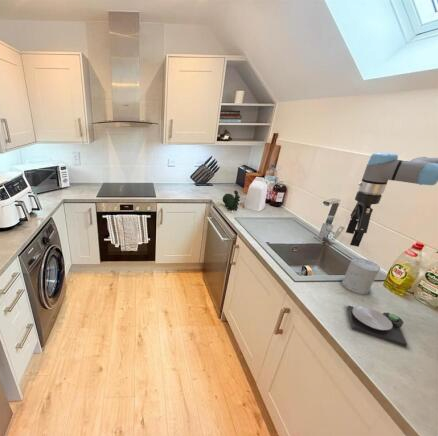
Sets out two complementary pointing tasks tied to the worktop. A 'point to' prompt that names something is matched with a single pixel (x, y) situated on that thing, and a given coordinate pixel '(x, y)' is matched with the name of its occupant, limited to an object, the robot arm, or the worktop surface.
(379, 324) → the pan
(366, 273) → the silver metal canister
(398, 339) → the scale
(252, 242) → the worktop surface
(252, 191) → the milk
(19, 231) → the worktop surface
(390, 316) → the tare button
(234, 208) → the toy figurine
